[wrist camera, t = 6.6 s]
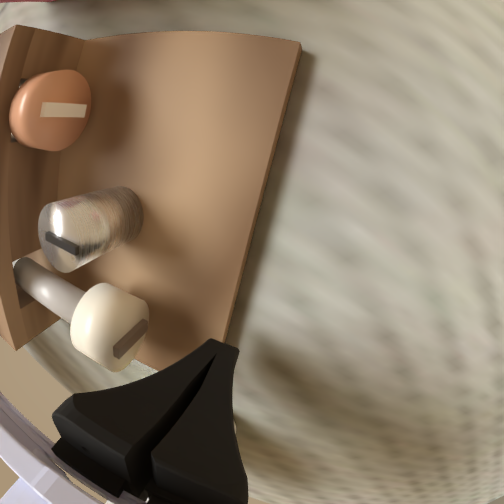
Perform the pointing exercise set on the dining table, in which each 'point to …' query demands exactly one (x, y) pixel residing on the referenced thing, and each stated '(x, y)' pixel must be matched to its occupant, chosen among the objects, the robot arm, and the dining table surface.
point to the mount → (149, 171)
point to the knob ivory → (90, 314)
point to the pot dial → (88, 226)
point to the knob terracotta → (50, 110)
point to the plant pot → (1, 0)
